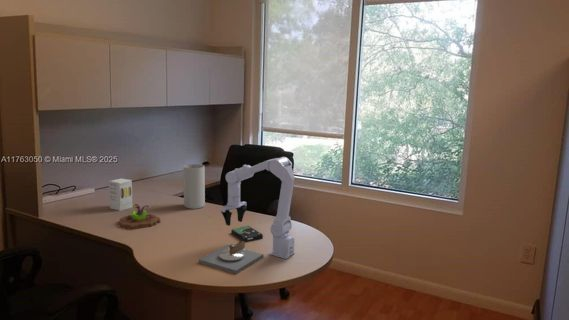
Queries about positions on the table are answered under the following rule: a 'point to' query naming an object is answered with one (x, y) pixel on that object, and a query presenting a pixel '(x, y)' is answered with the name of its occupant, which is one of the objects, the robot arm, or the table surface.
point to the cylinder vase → (194, 186)
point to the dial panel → (233, 266)
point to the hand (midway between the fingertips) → (234, 223)
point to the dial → (233, 252)
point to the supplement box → (120, 194)
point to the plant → (139, 219)
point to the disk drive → (247, 233)
